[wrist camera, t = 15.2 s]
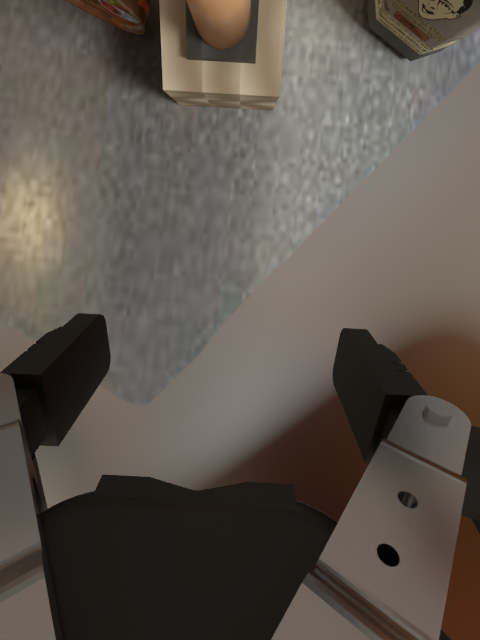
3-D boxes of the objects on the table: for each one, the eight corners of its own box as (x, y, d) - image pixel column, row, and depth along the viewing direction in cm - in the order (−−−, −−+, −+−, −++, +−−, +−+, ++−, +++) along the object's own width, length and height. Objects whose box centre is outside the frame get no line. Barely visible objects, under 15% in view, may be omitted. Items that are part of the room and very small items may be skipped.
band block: (179, 104, 35) (160, 87, 28) (177, -20, 31) (153, -83, 23) (272, 110, 36) (279, 94, 28) (282, -14, 31) (294, -74, 23)
